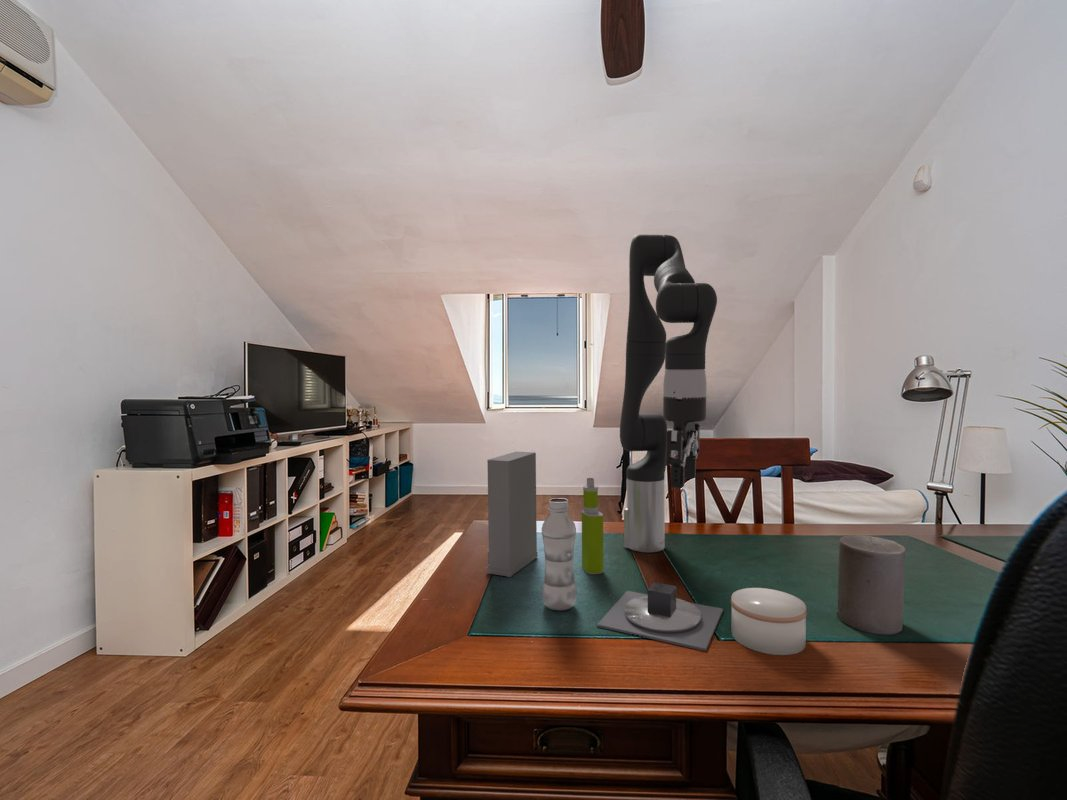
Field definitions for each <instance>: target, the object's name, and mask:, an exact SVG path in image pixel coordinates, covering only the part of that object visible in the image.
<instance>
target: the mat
mask: <svg viewBox="0 0 1067 800" xmlns="http://www.w3.org/2000/svg"><path fill="white" fill-rule="evenodd" d="M643 596H648V593H642V592H636V591H630V590H626V591H625V592H624V594H623V595H622V596H621V597H620V598H619V599H618V601H617V602H615V604H614V605H613V606H612V607H611V608H610V609H609V610H608V612H607V613H606V614H605V615H604V616H603V617H602V618H601V620H600V621H598V623H597V624H596V626H597V627H598V628H602V629H607V630H610V631H613V632H614V631H615V632H620V633H625V634H628V635H632V634H634V635H633V636H636V635H639V636H638V637H641V636H643V637H642V638H645V637H647V638H646V639H651V640H655V641H659V642H663V643H669V644H672V645H677V646H682V647H685V648H691V649H694V650H699V651H704V652H707V650H708V648H709V644H710V643H711V640H712V638H713V635H714V634H715V631H716V629H717V626H718V624H719V621H720V619H721V617H722V614H723V612H724V608H723V607H722V608H720V607H716V606H710V605H704V604H698V603H695V602H694V603H693V602H690V601H689V603H691V604H692V605H694V606H695V607H697V608H698V609H699V611H700V613H701V623H700V625H699V626H698V627H697V628H695V629H694V630H691V631H688V632H684V633H676V634H665V633H656V632H651V631H647V630H644V629H641V628H639V627H637V626H635V625H633V624H631V623H630V622H629V621H628V620H627V619H626V617H625V605H626V604H627V603H628V602H629V601H630V600H632V599H635V598H638V597H643Z"/></svg>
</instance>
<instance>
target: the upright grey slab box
mask: <svg viewBox="0 0 1067 800" xmlns="http://www.w3.org/2000/svg"><path fill="white" fill-rule="evenodd" d="M536 455H537V454H536V452H533V451H531V452H530V451H516V450H515V451H513V452H512V451H511V452H510V453H505V454H503V455H500V456H499V455H498V456H496V457H492V458H489V459H487V508H488V510H487V513H488V515H487V516H488V521H487V522H488V523H487V524H488V552H487V564H488V566H487V567H486V568H485V569H486V570H485V571H486V574H488V575H497V576H504V577H506V578H512V576H514V575H515V574H516V573H518V572H519V571H520V570H522V569H524V568H525V567H526V566H527V565H529V563H531V562H532V561H534V560H536V559H537V558H538V553H539V552H538V549H537V548H538V546H537V545H538V543H537V542H538V534H537V533H538V532H537V530H538V529H537V527H538V526H537V463H536V462H537V457H536Z"/></svg>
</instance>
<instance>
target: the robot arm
mask: <svg viewBox="0 0 1067 800" xmlns="http://www.w3.org/2000/svg"><path fill="white" fill-rule="evenodd" d="M628 255H629V259H628V260H629V261H628V262H629V263H628V266H629V268H628V271H629V275H628V276H629V277H628V278H629V279H628V280H629V289H628V290H629V292H628V293H629V301H628V302H629V305H628V319H627V332H626V345H625V346H626V347H625V375H624V376H625V377H624V379H625V380H624V390H623V391H624V392H623V398H622V399H623V401H622V407H621V416H620V424H619V439H620V440H619V441H620V444H621V447H622V449H623V450H625V451H626V452H646V454H645V456H643V457H642V458H641V459H640V460H638V461H636V462H634V463H632V464H629V465H628V466H627V467H626V471H625V472H626V507H625V508H624V509H623V548H626V549H629V550H631V551H635V552H639V553H657V552H661V551H664V549H665V542H666V537H665V532H666V531H665V521H666V519H665V516H666V515H665V511H666V510H665V509H666V508H665V503H666V501H665V497H666V496H665V491H666V490H665V486H666V484H665V476H666V475H665V473H666V469H667V468H666V467H667V465H669V466H670V486H671V488H677V489H682V488H684V486H685V479H691V480H692V479H695V478H696V476H697V475H696V474H697V473H696V472H697V469H696V468H697V459H698V455H699V454H700V451H701V449H700V427H701V425H700V422H704V421H705V420H706V419H707V375H706V349H707V341H708V337H709V332H710V329H711V325H712V321H713V318H714V315H715V312H716V309H717V304H718V297H717V296H718V295H717V292H716V290H715V288H714V287H713V286H712V285H711V284H709V283H706V282H695V279H694V277H693V276H692V275H691V273H690V271H688V269H687V267H686V263H685V259H684V253H683V250H682V246H681V244H680V242H679V240H678V239H677V238H676V237H675V236H673V235H669V234H635V235H634V236H633V237H632V239H631V242H630V246H629V254H628ZM645 277H653V285H654V289H655V290H656V292H657V293H656V298H655V308H654V307H653V305H652V303H651V301H650V299H649V297H648V296H649V295H648V294H647V290H646V285H645ZM663 322H664V323H668V324H681V323H682V324H689V323H691V324H692V323H693V324H692V328H691V330H690V332H688V333H686V334H682V335H677V336H673V337H670V338H668V339H667V332H666V329H665V327H664V324H663ZM663 366H664V377H663V395H662V396H663V397H662V398H663V399H662V400H663V403H662V407H663V408H662V410H663V411H662V412H663V414H660V413H658V412H657V413H656V412H655V413H652V412H651V413H640V409H641V405H642V401H643V398H644V396H645V393H646V392H647V391H648V389H649V388H650V386H651V384H652V382H653V381H654V380H655V378H656V377H657V376H658V374H659V373H660V371H661V370H662V368H663ZM666 421H667V422H672V423H673V428H672V429H668V425H667V422H666ZM676 456H677V457H676Z"/></svg>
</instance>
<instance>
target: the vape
mask: <svg viewBox="0 0 1067 800" xmlns="http://www.w3.org/2000/svg"><path fill="white" fill-rule="evenodd" d="M582 488H583V494H582V495H583V497H582V498H583V501H582V503H583V504H582V506H583V507H582V510H581V568H582V569H583V570H584V571H585V572H586V573H587V574H590V575H597V574H602V573H604V514H603V513H602V512H601V511H599V503H598V502H599V497H598V496H599V494H598V491H599V490H598V489H599V486H598V485H595V478H593V477H587V478H586V485H584V486H583V487H582Z"/></svg>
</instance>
